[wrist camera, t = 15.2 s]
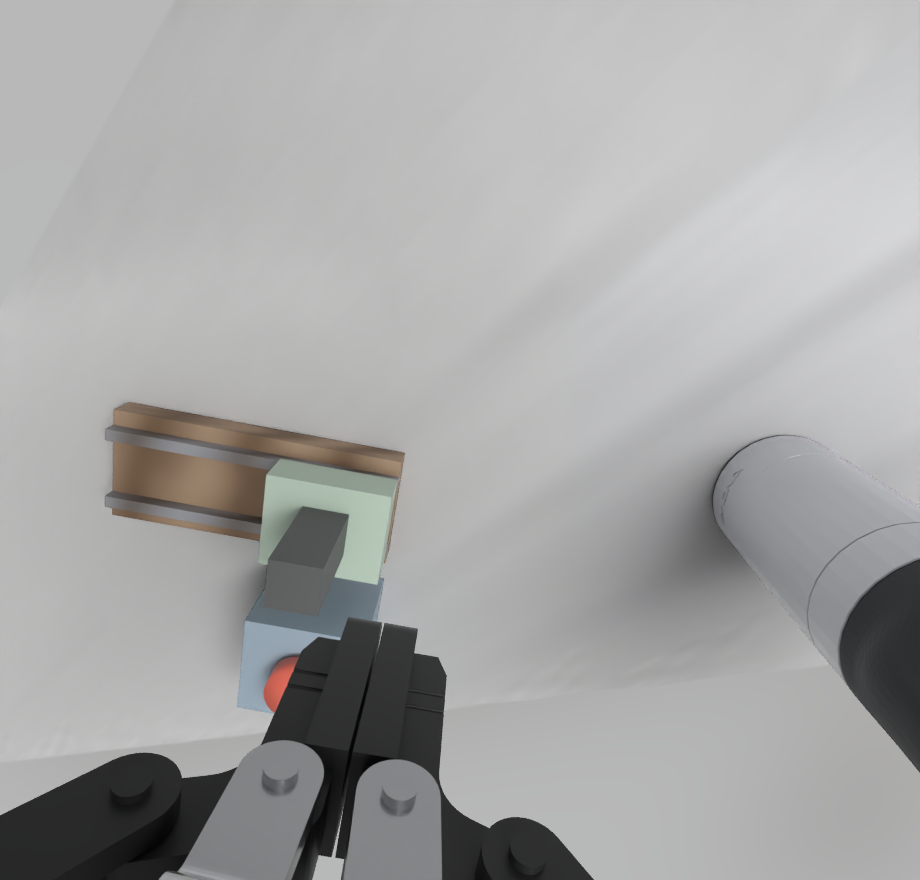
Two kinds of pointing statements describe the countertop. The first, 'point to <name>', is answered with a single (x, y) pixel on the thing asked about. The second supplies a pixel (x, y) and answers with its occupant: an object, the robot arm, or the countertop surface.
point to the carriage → (321, 532)
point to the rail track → (216, 468)
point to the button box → (297, 633)
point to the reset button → (278, 682)
